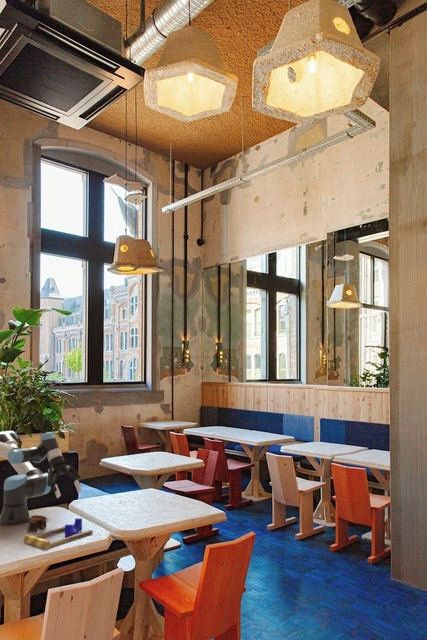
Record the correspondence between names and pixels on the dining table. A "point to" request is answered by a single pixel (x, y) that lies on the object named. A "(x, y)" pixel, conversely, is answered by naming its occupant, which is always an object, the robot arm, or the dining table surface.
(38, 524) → the pottery mug
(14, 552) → the dining table surface
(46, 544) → the guide lane
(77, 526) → the cable clip
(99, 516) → the dining table surface
